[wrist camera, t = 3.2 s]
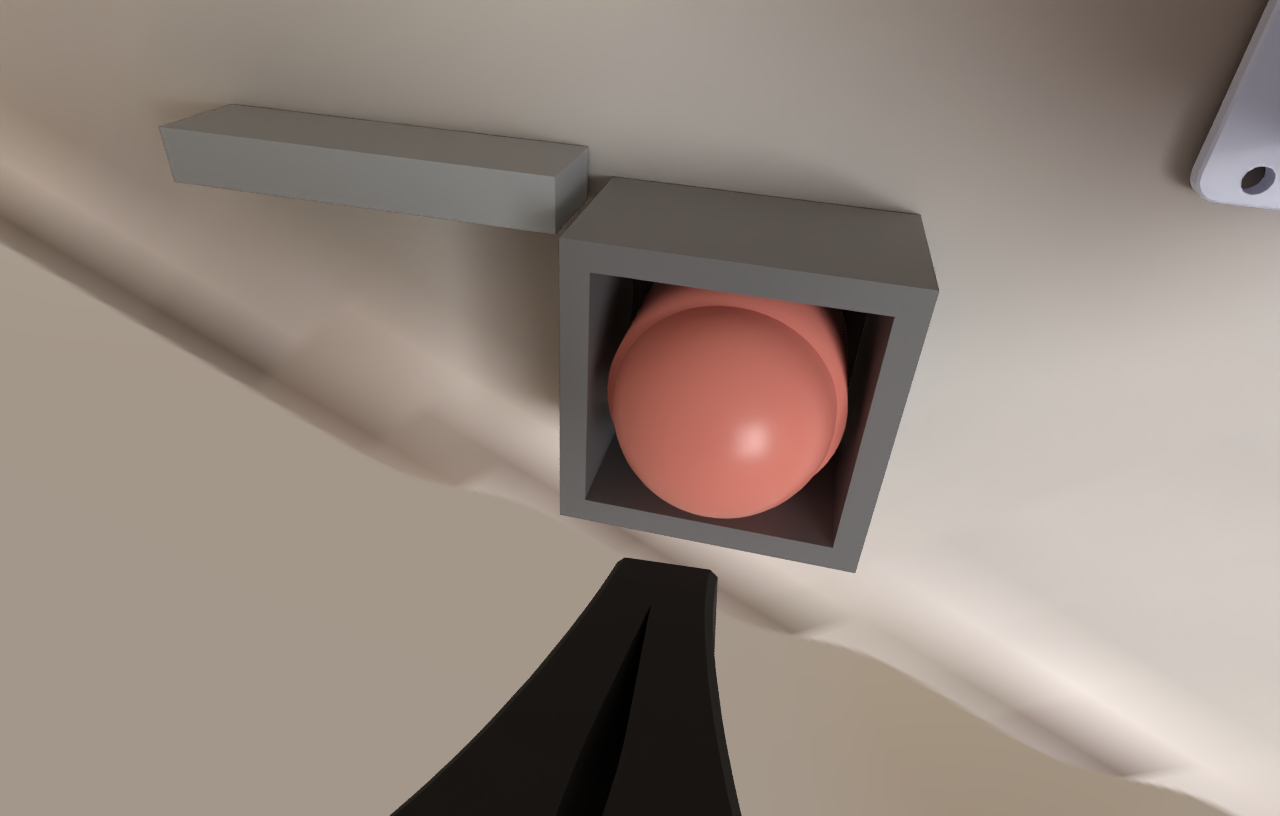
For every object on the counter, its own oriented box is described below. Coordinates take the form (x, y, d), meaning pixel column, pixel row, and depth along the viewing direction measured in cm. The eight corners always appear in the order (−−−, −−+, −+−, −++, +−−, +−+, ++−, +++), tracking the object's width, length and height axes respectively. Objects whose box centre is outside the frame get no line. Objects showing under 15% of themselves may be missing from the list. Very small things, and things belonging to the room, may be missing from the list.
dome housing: (920, 215, 16) (939, 290, 13) (853, 465, 20) (855, 573, 17) (612, 176, 17) (558, 237, 14) (604, 421, 21) (560, 514, 18)
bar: (588, 147, 17) (554, 176, 15) (587, 199, 18) (555, 234, 16) (231, 103, 19) (158, 126, 17) (243, 154, 19) (174, 181, 17)
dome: (868, 260, 16) (877, 379, 12) (825, 447, 19) (819, 596, 15) (642, 230, 17) (577, 331, 13) (631, 413, 20) (575, 545, 16)
